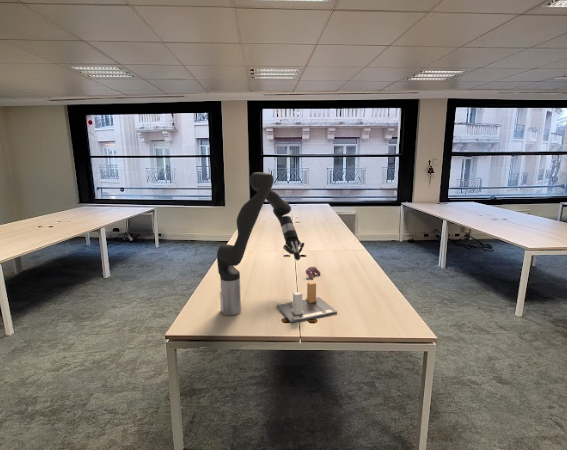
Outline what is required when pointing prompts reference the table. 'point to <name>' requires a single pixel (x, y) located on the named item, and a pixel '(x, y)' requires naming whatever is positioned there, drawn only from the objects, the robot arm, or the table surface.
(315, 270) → the video game controller
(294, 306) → the white slide tab
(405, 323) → the table surface
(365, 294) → the table surface
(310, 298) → the orange tab
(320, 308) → the switch panel
